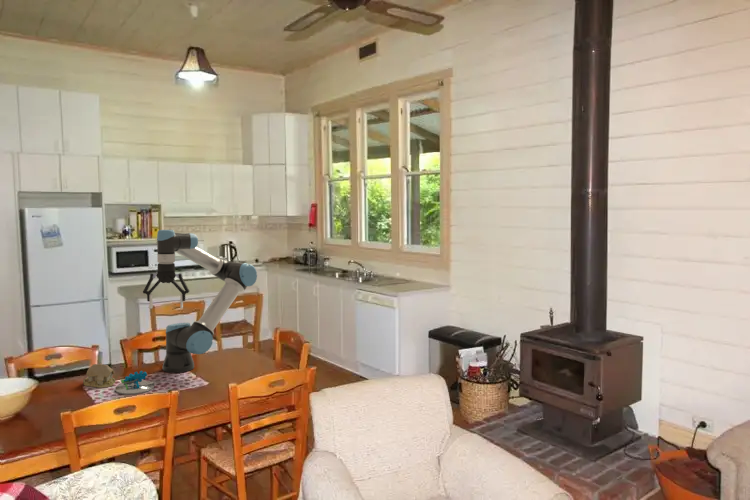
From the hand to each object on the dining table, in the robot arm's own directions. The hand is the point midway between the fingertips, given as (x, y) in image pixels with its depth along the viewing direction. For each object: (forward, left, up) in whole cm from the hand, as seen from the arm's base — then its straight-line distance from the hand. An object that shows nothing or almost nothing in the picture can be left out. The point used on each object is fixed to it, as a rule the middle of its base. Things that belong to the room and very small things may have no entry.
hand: (166, 308), depth 260 cm
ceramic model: (+1, -29, -35) cm, 46 cm away
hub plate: (+10, -12, -35) cm, 38 cm away
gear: (+11, -12, -34) cm, 37 cm away
